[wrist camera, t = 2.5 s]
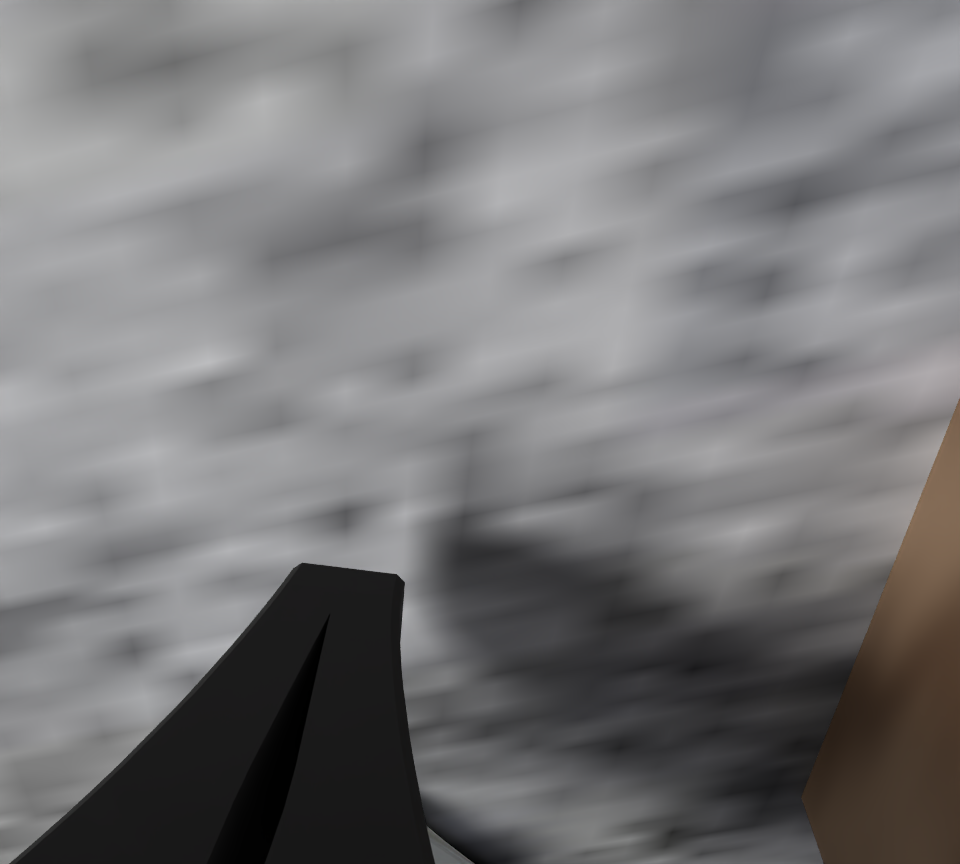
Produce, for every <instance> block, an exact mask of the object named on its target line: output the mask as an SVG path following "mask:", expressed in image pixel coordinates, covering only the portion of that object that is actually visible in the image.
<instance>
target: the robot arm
mask: <svg viewBox="0 0 960 864" xmlns="http://www.w3.org/2000/svg"><path fill="white" fill-rule="evenodd" d="M404 586H405V582H404V581H403V580H402V579H401V578H400V577H399V576H398V575H397V574H390V573H381V572H373V571H365V570H357V569H349V568H341V567H332V566H324V565H316V564H308V563H301V564H299V565H298V566H296V567H295V568H293V570H292V571H291V572H290V574H289V575H288V576H287V578H286V579H285V580H284V582H283V583H282V584H281V586H280V587H279V588H278V590H277V591H276V592H275V594H274V595H273V596H272V597H271V599H270V600H269V601H268V602H267V604H266V605H265V606H264V608H263V609H262V610H261V611H260V612H259V614H258V615H257V616H256V617H255V619H254V620H253V621H252V622H251V623H250V625H249V626H248V627H247V628H246V629H245V630H244V632H243V633H242V634H241V635H240V636H239V638H238V639H237V640H236V641H235V642H234V644H233V645H232V646H231V647H230V648H229V649H228V650H227V651H226V653H225V654H224V655H223V656H222V657H221V658H220V659H219V660H218V662H217V663H216V664H215V665H214V666H213V667H212V668H211V669H210V670H209V672H208V673H207V674H206V675H205V676H204V677H203V678H202V679H201V680H200V682H199V683H198V684H197V685H196V686H195V687H194V688H193V689H192V690H191V692H190V693H189V694H188V695H187V696H186V697H185V698H184V699H183V700H182V701H181V702H180V703H179V704H178V705H177V706H176V708H175V709H174V710H173V711H172V712H171V713H170V714H169V715H168V716H167V717H166V718H165V719H164V720H163V721H162V722H161V723H160V724H159V725H158V726H157V727H156V728H155V729H154V730H153V731H152V732H151V733H150V734H149V735H148V736H147V737H146V738H145V739H144V740H143V741H142V742H141V743H140V744H139V745H138V746H137V747H136V748H135V749H134V750H133V751H132V752H131V753H130V754H129V755H128V756H127V757H126V758H125V759H124V760H123V761H122V762H121V763H120V764H119V765H118V766H117V767H116V768H115V769H114V770H113V771H112V772H111V773H110V774H109V775H108V776H106V777H105V778H104V779H103V780H102V781H101V782H100V783H99V784H98V785H97V786H96V787H95V788H94V789H93V790H92V791H91V792H90V793H88V794H87V795H86V796H85V797H84V798H83V799H82V800H81V801H80V802H79V803H78V804H77V805H75V806H74V807H73V808H72V809H71V810H70V811H69V812H68V813H67V814H66V815H64V816H63V817H62V818H61V819H60V820H59V821H58V822H57V823H55V824H54V825H53V826H52V827H51V828H50V829H49V830H48V831H46V832H45V833H44V834H43V835H42V836H41V837H40V838H39V839H37V840H36V841H35V842H34V843H33V844H32V845H31V846H29V847H28V848H27V849H26V850H25V851H24V852H23V853H21V854H20V855H19V856H18V857H17V858H16V859H14V860H13V861H12V862H11V863H10V864H435V861H434V856H433V852H432V848H431V844H430V839H429V835H428V830H427V826H426V821H425V817H424V812H423V807H422V802H421V797H420V792H419V787H418V782H417V776H416V771H415V766H414V760H413V754H412V748H411V742H410V736H409V728H408V721H407V713H406V705H405V698H404V690H403V680H402V669H401V651H400V638H401V625H402V612H403V599H404Z"/></svg>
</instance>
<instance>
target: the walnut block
mask: <svg viewBox="0 0 960 864" xmlns="http://www.w3.org/2000/svg"><path fill="white" fill-rule="evenodd" d="M801 798H802V801H803V804H804V807H805V810H806V813H807V816H808V819H809V821H810V824H811V827H812V830H813V833H814V836H815V839H816V842H817V845H818V848H819V851H820V854H821V857H822V860H823V862H824V864H960V399H959V401H958V404H957V406H956V409H955V411H954V414H953V416H952V419H951V421H950V424H949V426H948V429H947V431H946V434H945V436H944V439H943V442H942V444H941V447H940V449H939V452H938V454H937V457H936V459H935V462H934V464H933V467H932V469H931V472H930V474H929V477H928V479H927V482H926V484H925V487H924V489H923V492H922V494H921V497H920V499H919V502H918V504H917V507H916V510H915V512H914V515H913V517H912V520H911V522H910V525H909V527H908V530H907V532H906V535H905V537H904V540H903V542H902V545H901V547H900V550H899V552H898V555H897V557H896V560H895V562H894V565H893V567H892V570H891V572H890V575H889V577H888V580H887V583H886V585H885V588H884V590H883V593H882V595H881V598H880V600H879V603H878V605H877V608H876V610H875V613H874V615H873V618H872V620H871V623H870V625H869V628H868V630H867V633H866V635H865V638H864V640H863V643H862V645H861V648H860V650H859V653H858V656H857V658H856V661H855V663H854V666H853V668H852V671H851V673H850V676H849V678H848V681H847V683H846V686H845V688H844V691H843V693H842V696H841V698H840V701H839V703H838V706H837V708H836V711H835V713H834V716H833V718H832V721H831V723H830V726H829V729H828V731H827V734H826V736H825V739H824V741H823V744H822V746H821V749H820V751H819V754H818V756H817V759H816V761H815V764H814V766H813V769H812V771H811V774H810V776H809V779H808V781H807V784H806V786H805V789H804V791H803V794H802V796H801Z"/></svg>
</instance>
